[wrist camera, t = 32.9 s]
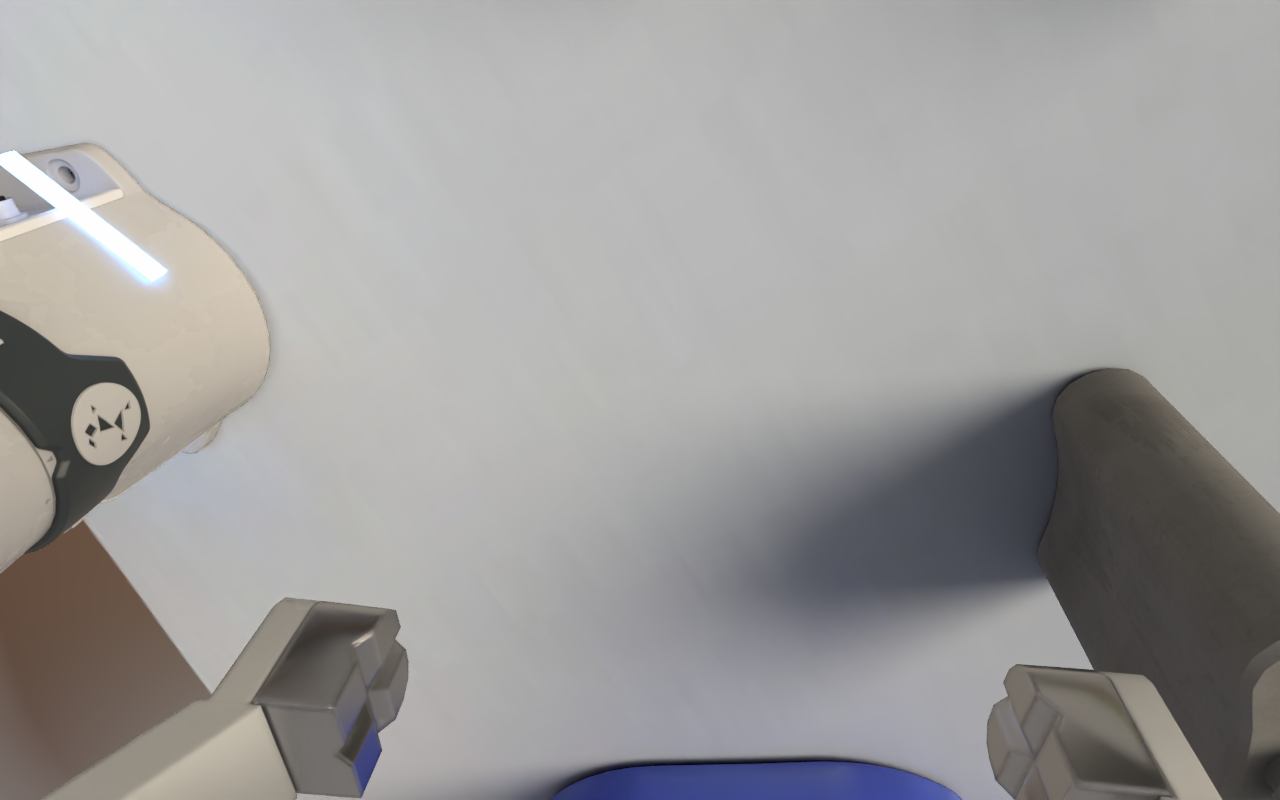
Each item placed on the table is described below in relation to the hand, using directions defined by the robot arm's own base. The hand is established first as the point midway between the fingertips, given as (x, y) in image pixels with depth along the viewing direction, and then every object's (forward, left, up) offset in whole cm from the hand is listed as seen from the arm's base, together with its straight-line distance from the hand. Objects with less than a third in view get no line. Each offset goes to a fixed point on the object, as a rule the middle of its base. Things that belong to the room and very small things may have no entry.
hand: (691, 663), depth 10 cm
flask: (+23, -17, -29) cm, 41 cm away
